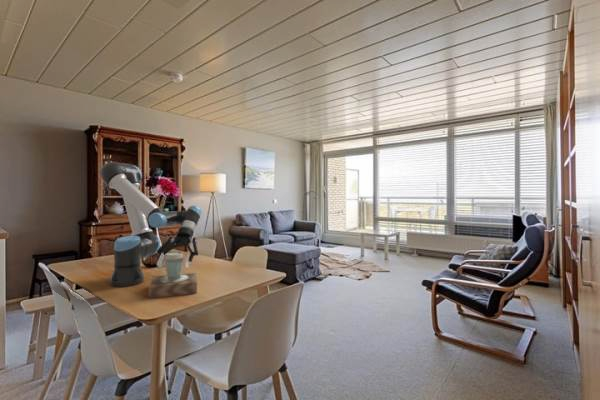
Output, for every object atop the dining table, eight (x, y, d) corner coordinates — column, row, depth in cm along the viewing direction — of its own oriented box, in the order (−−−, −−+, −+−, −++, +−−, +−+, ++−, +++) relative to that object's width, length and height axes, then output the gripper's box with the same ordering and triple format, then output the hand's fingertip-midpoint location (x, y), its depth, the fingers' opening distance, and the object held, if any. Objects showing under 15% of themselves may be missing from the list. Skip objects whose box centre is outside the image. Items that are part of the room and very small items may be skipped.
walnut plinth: (148, 297, 131) (148, 285, 131) (153, 286, 147) (153, 275, 147) (196, 293, 138) (196, 281, 138) (195, 282, 155) (195, 272, 155)
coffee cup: (177, 281, 138) (176, 255, 137) (160, 280, 139) (160, 254, 139) (187, 276, 146) (187, 252, 145) (172, 275, 148) (172, 251, 147)
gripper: (211, 235, 157) (199, 271, 142) (166, 234, 158) (149, 269, 144) (207, 226, 151) (195, 262, 137) (160, 226, 153) (143, 261, 138)
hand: (171, 266), depth 140 cm, fingers open, 13 cm apart
